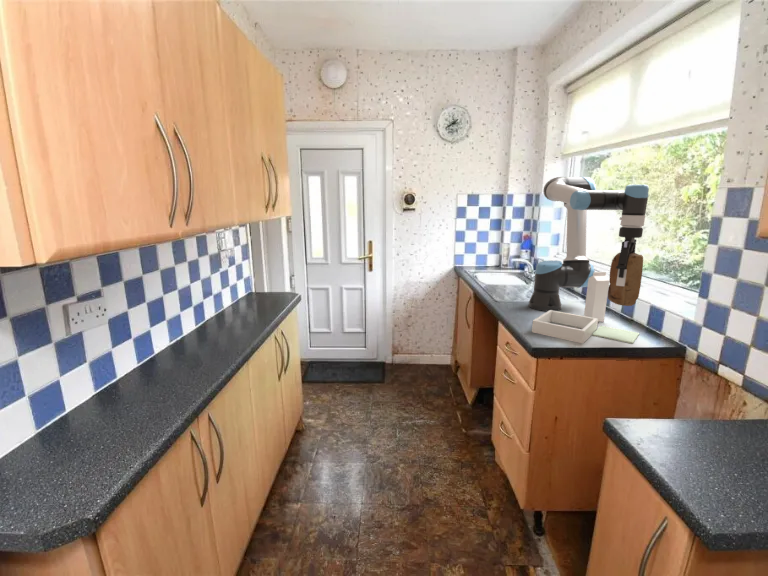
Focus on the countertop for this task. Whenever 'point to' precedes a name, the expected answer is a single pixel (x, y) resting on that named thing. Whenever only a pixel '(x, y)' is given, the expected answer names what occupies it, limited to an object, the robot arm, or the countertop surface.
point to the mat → (616, 334)
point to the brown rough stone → (626, 281)
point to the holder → (564, 332)
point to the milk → (597, 296)
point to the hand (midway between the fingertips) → (623, 283)
